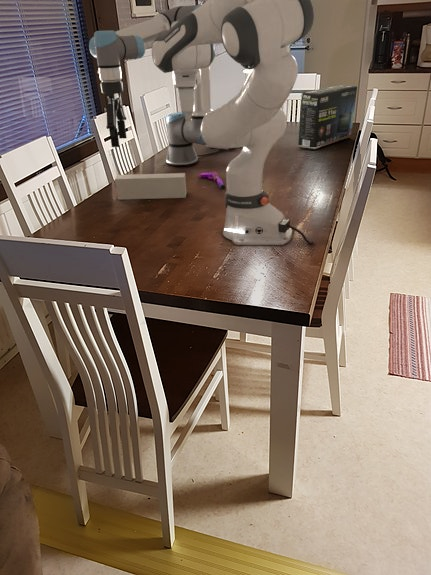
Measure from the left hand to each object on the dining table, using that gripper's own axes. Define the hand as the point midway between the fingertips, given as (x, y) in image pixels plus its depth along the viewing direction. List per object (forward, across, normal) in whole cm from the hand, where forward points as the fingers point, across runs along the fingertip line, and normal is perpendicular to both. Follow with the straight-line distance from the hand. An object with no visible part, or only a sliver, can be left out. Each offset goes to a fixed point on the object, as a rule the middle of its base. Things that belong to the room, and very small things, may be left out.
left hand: (119, 142), depth 172 cm
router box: (+20, -76, +92) cm, 121 cm away
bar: (+21, 0, +10) cm, 24 cm away
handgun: (+21, -16, +34) cm, 43 cm away
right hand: (-9, +15, +28) cm, 33 cm away
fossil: (+21, -75, +37) cm, 86 cm away
